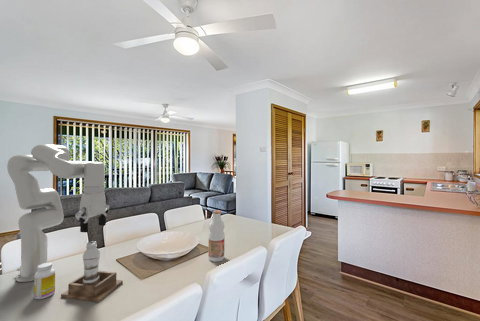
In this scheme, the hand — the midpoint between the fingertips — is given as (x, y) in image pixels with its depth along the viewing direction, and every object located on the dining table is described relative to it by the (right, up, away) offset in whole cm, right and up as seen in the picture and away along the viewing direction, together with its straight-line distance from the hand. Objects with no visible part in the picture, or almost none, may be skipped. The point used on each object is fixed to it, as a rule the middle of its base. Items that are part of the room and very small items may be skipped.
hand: (93, 228), depth 97 cm
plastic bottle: (0, -26, -1) cm, 26 cm away
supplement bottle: (-18, -27, -4) cm, 33 cm away
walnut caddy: (0, -27, 0) cm, 27 cm away
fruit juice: (+51, -28, +32) cm, 66 cm away
